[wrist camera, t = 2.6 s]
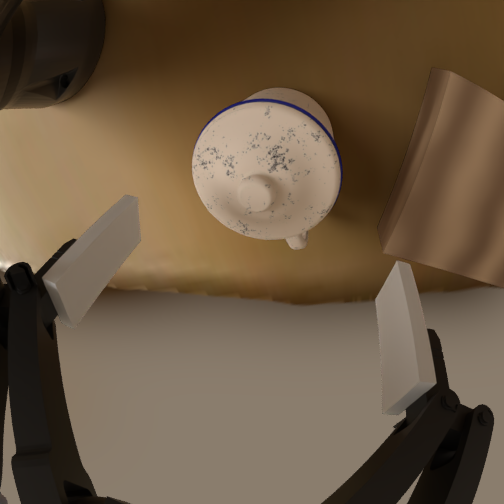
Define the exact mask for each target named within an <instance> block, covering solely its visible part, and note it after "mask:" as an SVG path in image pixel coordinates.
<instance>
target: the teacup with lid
mask: <svg viewBox="0 0 504 504" xmlns="http://www.w3.org/2000/svg"><path fill="white" fill-rule="evenodd" d="M192 173H193V179H194V184H195V187H196V190H197V192H198V195H199V196H200V198H201V200H202V202H203V203H204V205H205V206H206V208H207V209H208V210H209V212H210V213H211V214H212V215H213V216H214V217H215V218H216V219H217V220H219V221H220V222H221V223H222V224H224V225H225V226H227V227H228V228H230V229H232V230H234V231H236V232H238V233H240V234H243V235H245V236H249V237H252V238H257V239H265V240H278V239H286V241H287V243H288V245H289V246H290V247H291V248H292V249H295V250H296V249H303V248H305V247H306V245H307V242H308V230H310V229H311V228H313V227H314V226H316V225H317V224H318V223H319V222H320V221H321V220H322V219H323V218H324V217H325V216H326V215H327V214H328V213H329V211H330V210H331V209H332V207H333V206H334V204H335V202H336V200H337V198H338V195H339V193H340V189H341V185H342V174H343V170H342V162H341V157H340V153H339V150H338V148H337V145H336V143H335V141H334V137H333V131H332V126H331V123H330V121H329V118H328V116H327V115H326V113H325V111H324V110H323V109H322V107H321V106H320V105H319V104H318V103H317V102H316V101H315V100H313V99H312V98H311V97H309V96H307V95H306V94H304V93H302V92H299V91H296V90H293V89H288V88H270V89H265V90H262V91H259V92H257V93H255V94H253V95H251V96H250V97H248V98H247V99H245V100H244V101H241V102H238V103H235V104H233V105H231V106H229V107H227V108H225V109H223V110H222V111H220V112H219V113H217V114H216V115H215V116H214V117H213V118H212V119H211V120H210V121H209V122H208V123H207V124H206V125H205V127H204V128H203V130H202V131H201V133H200V135H199V137H198V139H197V141H196V144H195V147H194V152H193V159H192Z"/></svg>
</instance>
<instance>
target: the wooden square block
mask: <svg viewBox="0 0 504 504" xmlns="http://www.w3.org/2000/svg"><path fill="white" fill-rule="evenodd" d="M377 229H378V233H379V237H380V242H381V246H382V250H383V253H385V254H389V255H392V256H396V257H400V258H403V259H407V260H410V261H414V262H418V263H421V264H425V265H428V266H432V267H435V268H439V269H442V270H445V271H449V272H452V273H456V274H459V275H462V276H466V277H469V278H472V279H476V280H479V281H482V282H486V283H489V284H492V285H495V286H499V287H502V288H504V101H503V100H501V99H499V98H498V97H496V96H495V95H493V94H491V93H490V92H488V91H486V90H485V89H483V88H481V87H479V86H478V85H476V84H474V83H472V82H471V81H469V80H467V79H465V78H463V77H461V76H459V75H457V74H455V73H453V72H451V71H447V70H443V69H438V68H433V67H432V69H431V73H430V77H429V81H428V84H427V88H426V92H425V95H424V99H423V102H422V106H421V109H420V112H419V116H418V119H417V122H416V125H415V128H414V131H413V135H412V138H411V141H410V144H409V146H408V149H407V152H406V155H405V158H404V161H403V164H402V166H401V169H400V172H399V174H398V177H397V180H396V182H395V185H394V188H393V190H392V193H391V195H390V198H389V200H388V203H387V205H386V208H385V210H384V213H383V215H382V217H381V220H380V222H379V225H378V227H377Z"/></svg>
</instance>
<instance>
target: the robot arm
mask: <svg viewBox="0 0 504 504" xmlns="http://www.w3.org/2000/svg"><path fill="white" fill-rule="evenodd" d="M104 34H105V13H104V7H103V3H102V0H0V110H2V109H21V108H45V107H49V106H52V105H55V104H57V103H60V102H62V101H65V100H67V99H69V98H70V97H72V96H73V95H74V94H76V93H77V92H78V91H79V90H80V89H81V88H82V87H83V86H84V84H85V83H86V82H87V80H88V79H89V77H90V76H91V74H92V72H93V70H94V68H95V66H96V64H97V62H98V59H99V56H100V53H101V50H102V46H103V41H104ZM140 241H141V234H140V222H139V208H138V197H134V196H130V195H124V196H123V197H122V198H121V199H120V200H119V201H118V202H117V203H116V204H114V205H113V206H112V207H111V208H110V209H109V210H108V211H107V212H106V213H105V214H104V215H102V216H101V217H100V218H99V219H98V220H97V221H96V222H95V223H94V224H93V225H92V226H91V227H90V228H89V229H88V230H87V231H86V232H85V233H84V234H83V235H82V236H81V237H80V238H79V239H78V240H77V239H72V240H70V241H68V242H67V243H65V244H64V245H63V246H62V247H61V248H60V249H59V250H58V251H57V252H56V253H55V254H54V255H53V256H52V258H50V259H49V260H48V261H47V262H46V263H45V264H44V265H43V266H42V267H41V269H40V270H39V271H38V272H37V273H36V274H35V275H34V274H33V272H32V269H31V267H30V265H29V264H28V263H25V262H19V263H16V264H14V265H12V266H11V267H9V268H8V270H7V271H6V272H5V275H4V277H5V279H6V282H7V284H3V282H2V280H1V279H0V487H1V480H2V467H3V434H4V420H5V410H6V401H7V392H8V386H9V397H10V408H11V417H12V425H13V432H14V438H15V444H16V454H15V455H14V456H13V457H12V461H11V464H12V470H13V475H14V479H15V483H16V487H17V491H18V494H19V498H20V501H21V504H130V503H128V502H125V501H121V500H117V499H114V498H111V497H107V498H106V497H98V496H97V494H96V492H95V489H94V486H93V484H92V481H91V479H90V477H89V475H88V474H87V473H86V471H85V469H84V468H83V465H82V463H81V460H80V456H79V453H78V449H77V446H76V442H75V439H74V434H73V431H72V427H71V422H70V418H69V414H68V409H67V404H66V399H65V393H64V388H63V382H62V376H61V369H60V362H59V354H58V345H57V335H56V325H55V321H54V319H55V318H56V316H57V315H58V316H59V318H60V321H61V323H62V324H64V325H66V326H68V327H70V328H73V329H75V328H76V326H77V325H78V323H79V322H80V321H81V319H82V318H83V316H84V315H85V313H86V312H87V311H88V309H89V308H90V306H91V305H92V304H93V302H94V301H95V300H96V298H97V297H98V295H99V294H100V292H101V291H102V290H103V289H104V287H105V286H106V285H107V283H108V282H109V281H110V279H111V278H112V277H113V275H114V274H115V273H116V272H117V270H118V269H119V268H120V266H121V265H122V264H123V263H124V261H125V260H126V259H127V257H128V256H129V255H130V254H131V252H132V251H133V250H134V249H135V247H136V246H137V245H138V244H139V243H140ZM375 302H376V309H377V320H378V330H379V343H380V356H381V376H382V414H389V415H399V414H400V413H402V412H403V411H404V410H406V417H405V418H404V419H403V420H402V421H400V422H399V423H397V424H396V425H395V426H393V427H394V428H395V430H394V431H393V432H392V433H391V434H390V436H389V437H388V438H387V439H386V440H385V441H384V443H383V444H382V445H381V446H380V447H379V448H378V449H377V450H376V452H375V453H374V454H373V455H372V456H371V457H370V458H369V459H368V460H367V461H366V462H365V463H364V464H363V465H362V466H361V467H360V468H359V469H358V470H357V471H356V472H355V473H354V474H353V475H352V476H351V477H350V478H349V479H348V480H347V481H346V482H345V483H344V484H343V485H342V486H341V487H340V488H338V489H337V490H336V491H335V492H334V493H333V494H332V495H331V496H329V497H328V498H327V499H326V500H325V501H324V502H323V503H321V504H396V503H397V502H398V501H399V500H400V499H401V497H402V496H403V495H404V493H406V491H407V490H408V489H409V487H410V486H411V485H412V484H413V482H414V481H415V480H416V478H417V477H418V476H419V474H420V473H421V472H422V470H423V472H422V474H421V476H420V478H419V480H418V482H417V485H416V487H415V489H414V491H413V493H412V495H411V497H410V499H409V501H408V503H407V504H472V502H473V500H474V497H475V494H476V491H477V488H478V485H479V482H480V479H481V475H482V472H483V468H484V465H485V461H486V457H487V453H488V449H489V445H490V441H491V436H492V431H493V426H494V417H493V413H492V411H491V410H490V408H489V407H487V406H486V405H483V404H482V405H478V406H477V407H476V408H474V409H471V408H468V407H466V406H464V405H462V404H460V400H459V398H458V396H457V395H456V393H455V392H454V391H452V390H451V389H449V384H448V378H447V373H446V367H445V362H444V360H443V358H444V357H443V352H442V347H441V344H440V339H439V337H438V336H437V334H436V332H435V331H434V330H432V329H427V328H426V323H425V319H424V314H423V310H422V306H421V302H420V298H419V294H418V290H417V287H416V283H415V279H414V276H413V272H412V269H411V266H410V264H408V263H404V262H401V261H396V263H395V265H394V267H393V269H392V271H391V272H390V274H389V276H388V278H387V280H386V282H385V283H384V285H383V287H382V289H381V290H380V292H379V294H378V296H377V297H376V299H375ZM0 504H8V503H7V500H6V498H5V497H4V496H3V495H2V494H1V492H0Z"/></svg>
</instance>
